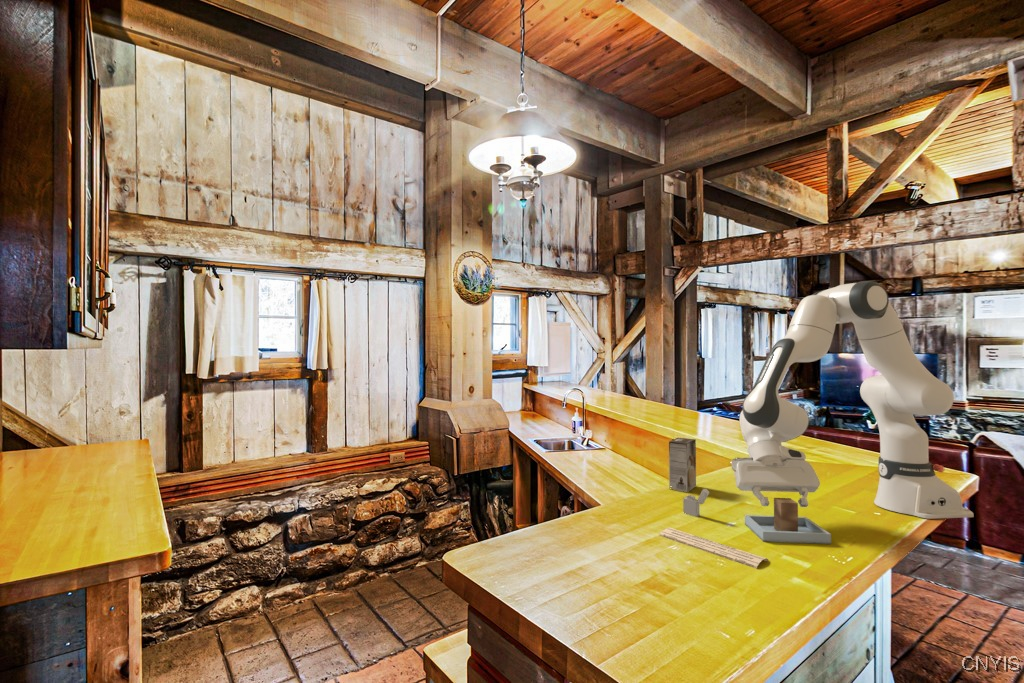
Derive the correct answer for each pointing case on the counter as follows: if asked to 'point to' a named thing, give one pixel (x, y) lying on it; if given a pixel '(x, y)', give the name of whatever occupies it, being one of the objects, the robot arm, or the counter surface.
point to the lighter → (694, 503)
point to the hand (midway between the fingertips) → (785, 505)
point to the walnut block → (785, 514)
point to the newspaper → (713, 547)
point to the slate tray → (805, 534)
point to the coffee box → (682, 464)
